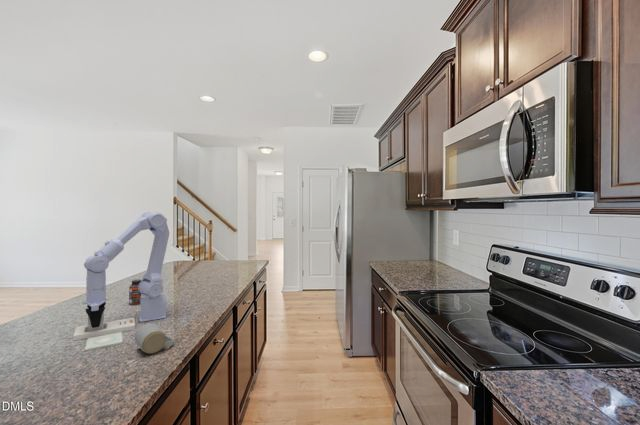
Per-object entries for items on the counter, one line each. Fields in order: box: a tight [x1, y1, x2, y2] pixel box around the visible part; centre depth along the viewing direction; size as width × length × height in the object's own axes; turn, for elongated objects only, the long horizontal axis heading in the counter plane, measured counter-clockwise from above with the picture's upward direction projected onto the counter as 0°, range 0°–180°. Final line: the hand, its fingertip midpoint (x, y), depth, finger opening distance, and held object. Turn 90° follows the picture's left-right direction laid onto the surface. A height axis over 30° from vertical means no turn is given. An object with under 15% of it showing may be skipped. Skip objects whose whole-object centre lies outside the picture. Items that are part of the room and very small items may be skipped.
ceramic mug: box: [134, 322, 175, 355], centre depth 98 cm, size 11×8×8 cm
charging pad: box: [84, 332, 123, 352], centre depth 102 cm, size 10×10×1 cm
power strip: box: [72, 317, 136, 341], centre depth 112 cm, size 18×10×2 cm, turn 124°
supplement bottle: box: [128, 278, 142, 306], centre depth 145 cm, size 6×6×11 cm
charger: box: [87, 310, 105, 332], centre depth 110 cm, size 4×4×7 cm
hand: (96, 325), depth 111 cm, fingers closed on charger, 4 cm apart
